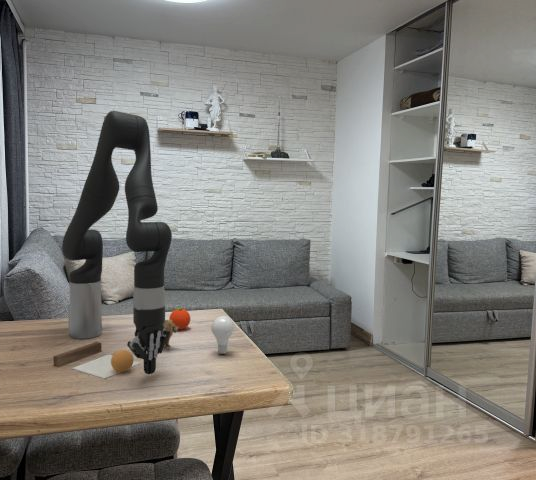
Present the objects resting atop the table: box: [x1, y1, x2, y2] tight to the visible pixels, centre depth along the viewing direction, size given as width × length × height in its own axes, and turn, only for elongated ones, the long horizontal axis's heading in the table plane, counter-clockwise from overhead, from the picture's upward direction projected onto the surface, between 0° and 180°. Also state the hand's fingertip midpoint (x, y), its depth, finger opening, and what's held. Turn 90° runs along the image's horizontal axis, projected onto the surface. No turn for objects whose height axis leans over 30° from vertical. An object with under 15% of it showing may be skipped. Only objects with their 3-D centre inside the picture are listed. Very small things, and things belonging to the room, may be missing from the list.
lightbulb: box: [211, 315, 235, 355], centre depth 135 cm, size 6×6×11 cm
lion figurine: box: [159, 319, 179, 349], centre depth 142 cm, size 15×5×9 cm, turn 35°
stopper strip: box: [53, 341, 102, 368], centre depth 129 cm, size 2×14×2 cm, turn 150°
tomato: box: [168, 307, 191, 331], centre depth 158 cm, size 8×7×7 cm
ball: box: [111, 349, 134, 373], centre depth 121 cm, size 6×6×6 cm
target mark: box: [71, 354, 141, 380], centre depth 124 cm, size 12×12×1 cm
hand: (149, 372), depth 117 cm, fingers closed
